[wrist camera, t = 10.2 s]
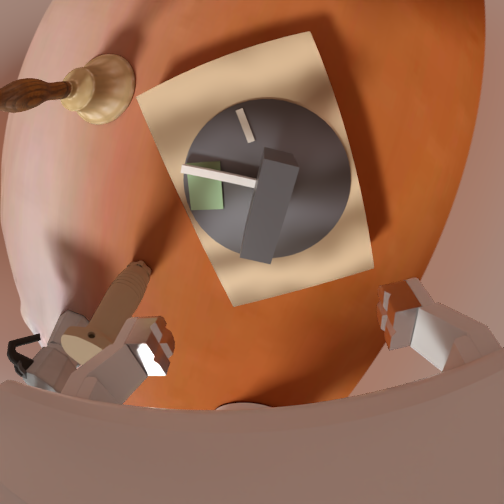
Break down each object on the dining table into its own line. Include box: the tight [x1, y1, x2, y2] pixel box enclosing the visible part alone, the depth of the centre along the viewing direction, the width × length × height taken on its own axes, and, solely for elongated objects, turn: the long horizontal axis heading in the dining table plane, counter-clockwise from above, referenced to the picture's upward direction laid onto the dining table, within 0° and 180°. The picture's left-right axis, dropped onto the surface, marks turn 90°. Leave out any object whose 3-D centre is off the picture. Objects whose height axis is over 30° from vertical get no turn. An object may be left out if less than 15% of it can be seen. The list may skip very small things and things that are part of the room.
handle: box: [61, 260, 151, 365], centre depth 28 cm, size 5×6×15 cm
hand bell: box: [0, 54, 135, 125], centre depth 17 cm, size 8×8×16 cm
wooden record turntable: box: [136, 31, 374, 307], centre depth 26 cm, size 24×16×4 cm, turn 20°
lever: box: [181, 147, 300, 264], centre depth 21 cm, size 9×7×7 cm
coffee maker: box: [7, 310, 89, 393], centre depth 34 cm, size 15×9×18 cm, turn 32°
